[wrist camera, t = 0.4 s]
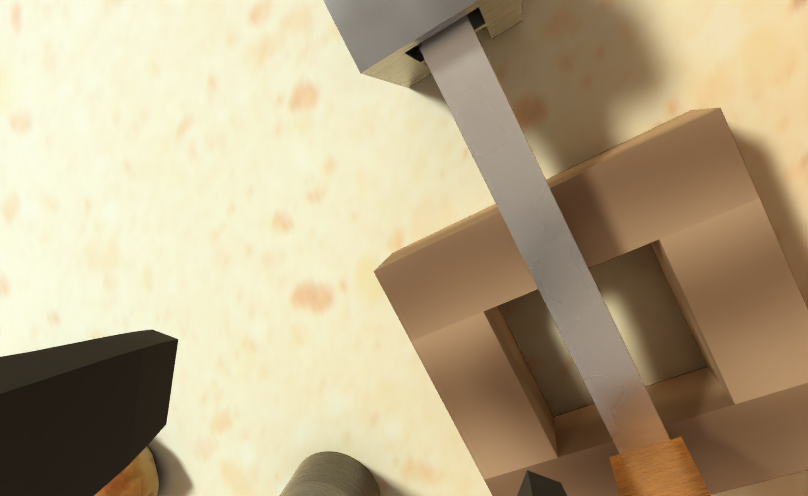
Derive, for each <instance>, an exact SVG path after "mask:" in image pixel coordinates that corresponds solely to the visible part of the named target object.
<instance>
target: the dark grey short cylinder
mask: <svg viewBox="0 0 808 496" xmlns="http://www.w3.org/2000/svg"><path fill="white" fill-rule="evenodd" d="M280 496H380V492H379V488H378V485H377V483H376V481H375V479H374V477H373V476H372V474H371V473H370V472H369V471H368V469H367V468H365V467H364V466H363V465H362V464H361V463H360V462H358V461H357V460H355V459H354V458H352V457H350V456H347V455H345V454H342V453H337V452H320V453H316V454H313V455H311V456H309V457H308V458H306V459H305V460H304V461H303V462H302V463H301V465H300V466H299V467H298V469H297V470H296V472H295V473H294V475H293V476H292V478H291V479H290V481H289V482H288V484H287V485H286V487H285V488H284V490H283V491H282V493H281V494H280Z"/></svg>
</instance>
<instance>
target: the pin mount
mask: <svg viewBox="0 0 808 496" xmlns="http://www.w3.org/2000/svg"><path fill="white" fill-rule="evenodd" d="M323 1H324V2H325V4H326V6H327V8H328V10H329V12H330V14H331V16H332V18H333V20H334V22H335V24H336V26H337V28H338V30H339V32H340V34H341V36H342V38H343V40H344V42H345V44H346V46H347V48H348V50H349V52H350V53H351V55H352V57H353V59H354V61H355V63H356V65H357V67H358V69H359V71H360V73H362V74H365V75H368V76H371V77H375V78H378V79H381V80H384V81H388V82H391V83H394V84H397V85H400V86H404V87H407V88H409V87H410V86H412V85H414V84H415V83H417V82H419V81H421V80H422V79H424V78H426V77H427V76H429V75H431V74H432V73H431V71H430V69H429V67H428V65H427V63H426V61H425V59H424V57H423V55H422V53H421V51H420V49H419V47H418V44H420V43H421V42H423V41H424V40H426V39H428V38H429V37H431V36H433V35H434V34H436V33H437V32H439V31H441V30H442V29H444V28H446V27H447V26H449V25H450V24H452V23H454V22H455V21H457V20H459V19H460V18H462V17H464V16H465V15H467V16H468V18H469V20H470V22H471V25H472V27H473V29H474V31H475V33H476V32H477V31H479V30H481V29H482V28H484V27H486V28H487V30H488V32H489V34H490V36H491V38H494V37H495V36H497V35H499V34H501V33H502V32H504V31H506V30H507V29H509V28H511V27H512V26H514V25H516V24H518V23H519V22H521V21H523V11H522V0H323Z"/></svg>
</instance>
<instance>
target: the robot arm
mask: <svg viewBox="0 0 808 496" xmlns="http://www.w3.org/2000/svg"><path fill="white" fill-rule="evenodd" d="M177 344H178V339H176V338H173V337H171V336H168V335H165V334H163V333H160V332H157V331H155V330H145V331H137V332H130V333H124V334H119V335H113V336H108V337H103V338H98V339H93V340H88V341H83V342H78V343H73V344H68V345H63V346H57V347H52V348H47V349H42V350H37V351H32V352H27V353H21V354H15V355H9V356H3V357H0V496H94V495H95V494H97V493H98V492H99V491H100V490H101V489H102V488H103V487H105V486H106V485H107V484H108V483H109V482H110V481H112V480H113V479H114V478H115V477H116V476H117V475H118V474H120V473H121V472H122V471H123V470H124V469H125V468H126V467H127V466H128V465H130V463H131V462H132V461H133V460H134V459H135V458H136V457H137V456H138V455H139V454H140V453H141V452H142V451H143V450H144V449H145V448H146V446H147V445H148V444H149V443H150V442H151V441H152V440H153V438H154V437H155V436H156V435H157V434H158V433H159V432H160V430H161V429H162V428H163V427H164V426H165V425H166V422H167V415H168V408H169V400H170V393H171V386H172V379H173V372H174V365H175V358H176V351H177ZM517 496H567V494H566V492H565V490H564V488H563V486H562V484H561V482H558V481H555V480H553V479H550V478H547V477H545V476H542V475H539V474H537V473H534V472H531V471H529V470H527V471H526V474H525V477H524V479H523V482H522V484H521V487H520V489H519V492H518V495H517Z"/></svg>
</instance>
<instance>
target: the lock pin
mask: <svg viewBox="0 0 808 496" xmlns="http://www.w3.org/2000/svg"><path fill="white" fill-rule="evenodd" d="M418 47H419V49H420V51H421V53H422V55H423V57H424V59H425V61H426V63H427V65H428V67H429V69H430V71H431V73H432V75H433V77H434V79H435V81H436V83H437V85H438V87H439V89H440V91H441V93H442V95H443V97H444V99H445V101H446V103H447V105H448V107H449V109H450V111H451V113H452V115H453V117H454V119H455V121H456V124H457V126H458V128H459V130H460V132H461V134H462V136H463V138H464V140H465V142H466V144H467V146H468V148H469V150H470V152H471V154H472V156H473V158H474V160H475V162H476V164H477V166H478V168H479V170H480V172H481V174H482V176H483V178H484V180H485V182H486V184H487V186H488V188H489V190H490V192H491V194H492V196H493V198H494V200H495V202H496V205H497V207H498V209H499V211H500V213H501V215H502V217H503V219H504V221H505V223H506V225H507V227H508V229H509V231H510V233H511V235H512V237H513V239H514V241H515V243H516V245H517V247H518V249H519V251H520V253H521V255H522V257H523V259H524V261H525V263H526V265H527V267H528V269H529V271H530V273H531V275H532V277H533V279H534V281H535V283H536V286H537V288H538V290H539V292H540V294H541V296H542V298H543V300H544V302H545V304H546V306H547V308H548V310H549V312H550V314H551V316H552V318H553V320H554V322H555V324H556V326H557V328H558V330H559V332H560V334H561V336H562V338H563V340H564V342H565V344H566V346H567V348H568V350H569V352H570V354H571V356H572V358H573V360H574V362H575V364H576V366H577V369H578V371H579V373H580V375H581V377H582V379H583V381H584V383H585V385H586V387H587V389H588V391H589V393H590V395H591V397H592V399H593V401H594V403H595V405H596V407H597V409H598V411H599V413H600V415H601V417H602V419H603V421H604V423H605V425H606V427H607V429H608V431H609V433H610V435H611V437H612V439H613V441H614V443H615V445H616V447H617V450H618V452H619V455H616V456H612V457H610V461H611V465H612V469H613V473H614V477H615V481H616V485H617V489H618V493H619V496H711V495H710V493H709V491H708V489H707V487H706V485H705V483H704V481H703V479H702V477H701V475H700V473H699V471H698V469H697V467H696V465H695V463H694V461H693V459H692V457H691V455H690V453H689V451H688V449H687V447H686V445H685V443H684V441H683V439H682V437H678V438H674V439H670V437H669V435H668V433H667V431H666V429H665V427H664V425H663V423H662V421H661V418H660V416H659V414H658V412H657V410H656V408H655V406H654V404H653V402H652V400H651V398H650V395H649V393H648V391H647V389H646V387H645V385H644V383H643V381H642V379H641V377H640V375H639V373H638V370H637V368H636V366H635V364H634V362H633V360H632V358H631V356H630V354H629V352H628V350H627V348H626V345H625V343H624V341H623V339H622V337H621V335H620V333H619V331H618V329H617V327H616V325H615V323H614V320H613V318H612V316H611V314H610V312H609V310H608V308H607V306H606V304H605V302H604V300H603V298H602V295H601V293H600V291H599V289H598V287H597V285H596V283H595V281H594V279H593V277H592V275H591V273H590V270H589V268H588V266H587V264H586V262H585V260H584V258H583V256H582V254H581V252H580V250H579V248H578V245H577V243H576V241H575V239H574V237H573V235H572V233H571V231H570V229H569V227H568V225H567V223H566V220H565V218H564V216H563V214H562V212H561V210H560V208H559V206H558V204H557V202H556V200H555V198H554V195H553V193H552V191H551V189H550V187H549V185H548V183H547V181H546V179H545V177H544V175H543V172H542V170H541V168H540V166H539V164H538V162H537V160H536V158H535V156H534V154H533V152H532V150H531V147H530V145H529V143H528V141H527V139H526V137H525V135H524V133H523V131H522V129H521V127H520V125H519V122H518V120H517V118H516V116H515V114H514V112H513V110H512V108H511V106H510V104H509V102H508V100H507V97H506V95H505V93H504V91H503V89H502V87H501V85H500V83H499V81H498V79H497V77H496V75H495V72H494V70H493V68H492V66H491V64H490V62H489V60H488V58H487V56H486V54H485V52H484V50H483V47H482V45H481V43H480V41H479V39H478V37H477V35H476V33H475V31H474V29H473V27H472V25H471V22H470V20H469V18H468V16H467V15H465V16H464V17H462V18H460V19H459V20H457V21H455V22H454V23H452V24H450V25H449V26H447V27H446V28H444V29H442V30H441V31H439V32H437V33H436V34H434V35H433V36H431V37H429V38H428V39H426V40H424V41H423V42H421V43H420V44H418Z"/></svg>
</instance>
